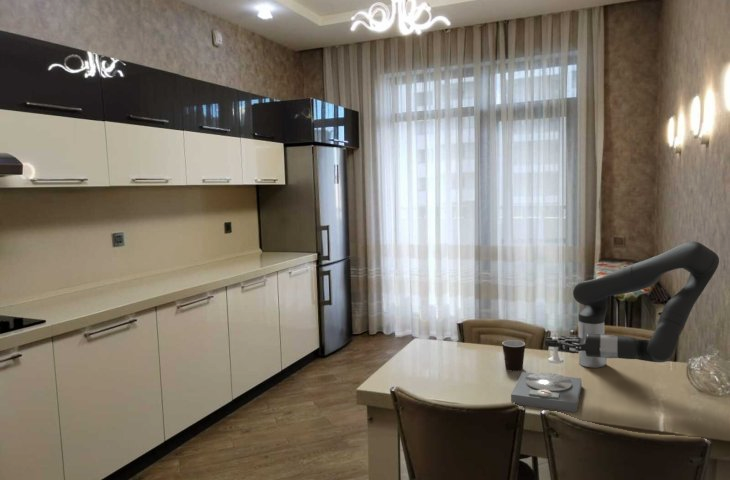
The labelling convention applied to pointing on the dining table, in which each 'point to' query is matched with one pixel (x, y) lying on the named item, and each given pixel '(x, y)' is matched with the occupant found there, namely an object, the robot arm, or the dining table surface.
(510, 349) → the coffee mug
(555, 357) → the chess piece
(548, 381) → the kitchen scale
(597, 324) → the robot arm
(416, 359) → the dining table surface
